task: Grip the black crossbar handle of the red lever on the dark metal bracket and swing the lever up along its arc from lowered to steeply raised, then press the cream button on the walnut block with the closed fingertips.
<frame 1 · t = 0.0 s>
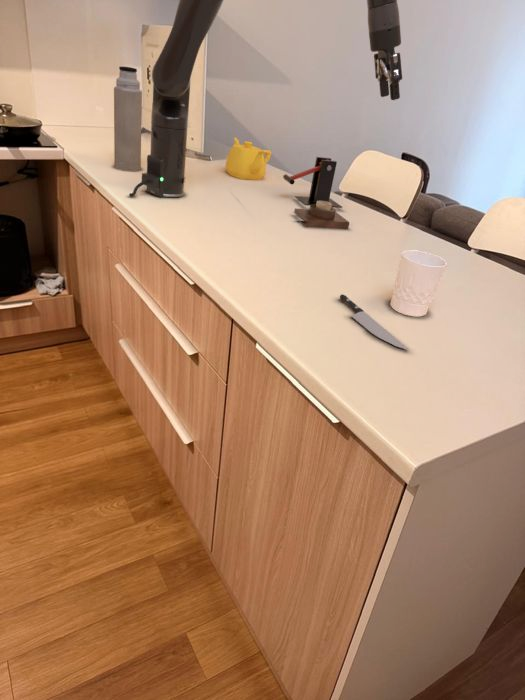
hand: (390, 97, 133), 31 cm above the worktop, tool tilted 20°, fingers open, 8 cm apart
chef's knife: (365, 324, 86), on the worktop
lever: (308, 172, 146), point 9 cm above the worktop, hinge at -24.0°
white cup: (407, 309, 94), on the worktop
bracket: (317, 205, 152), on the worktop
teapot: (248, 176, 175), on the worktop
start button: (323, 205, 134), point 4 cm above the worktop, slide at 0.1 cm
thermos bottle: (127, 168, 159), on the worktop
button block: (320, 222, 136), on the worktop
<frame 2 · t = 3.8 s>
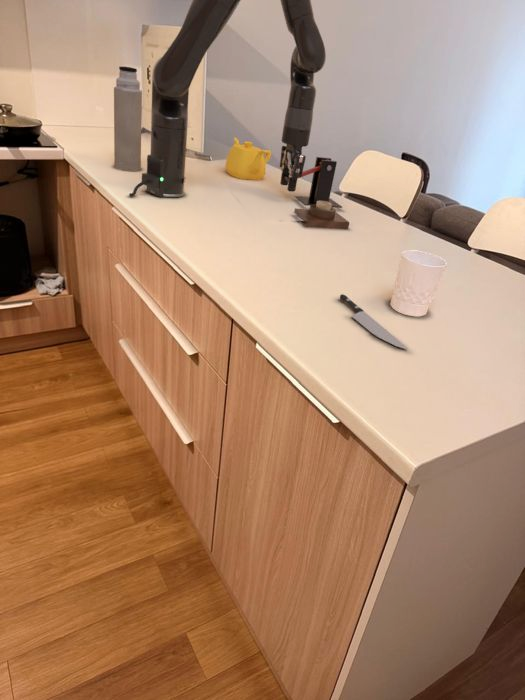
hand: (287, 187, 147), 4 cm above the worktop, tool pointing down, fingers closed on lever, 6 cm apart
lever: (308, 172, 146), point 9 cm above the worktop, hinge at -24.0°, touching gripper
everything else where it was.
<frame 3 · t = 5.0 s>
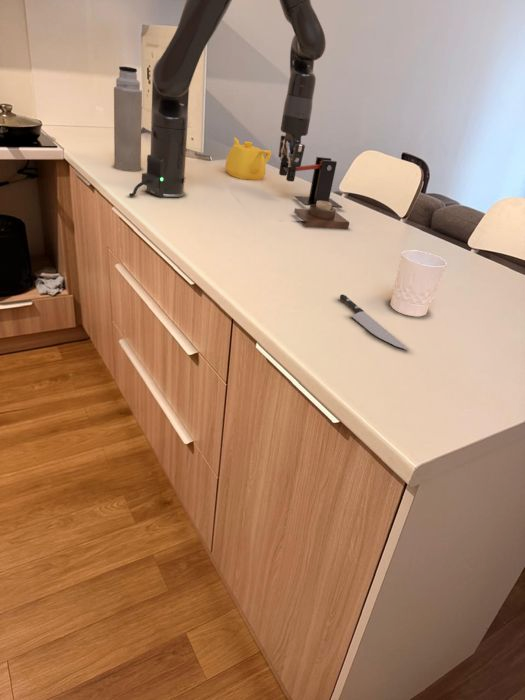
hand: (286, 177, 145), 7 cm above the worktop, tool pointing down, fingers closed on lever, 6 cm apart
lever: (307, 167, 145), point 11 cm above the worktop, hinge at -10.3°, touching gripper
everything else where it was.
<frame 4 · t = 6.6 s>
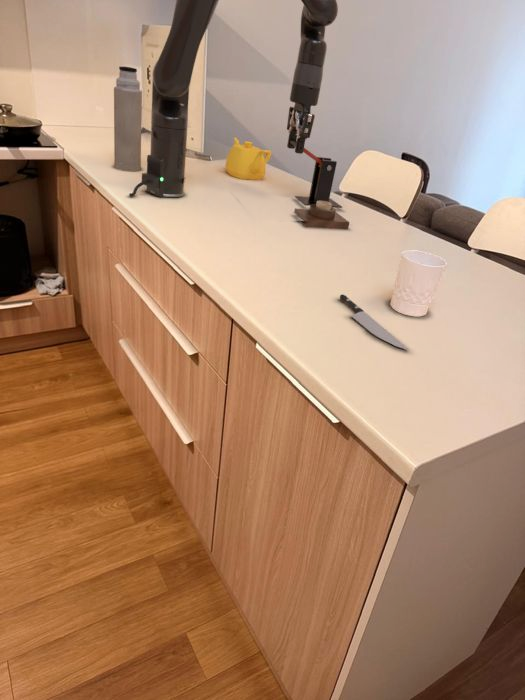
hand: (294, 150, 142), 15 cm above the worktop, tool pointing down, fingers closed on lever, 6 cm apart
lever: (311, 155, 144), point 14 cm above the worktop, hinge at 26.2°, touching gripper
everything else where it was.
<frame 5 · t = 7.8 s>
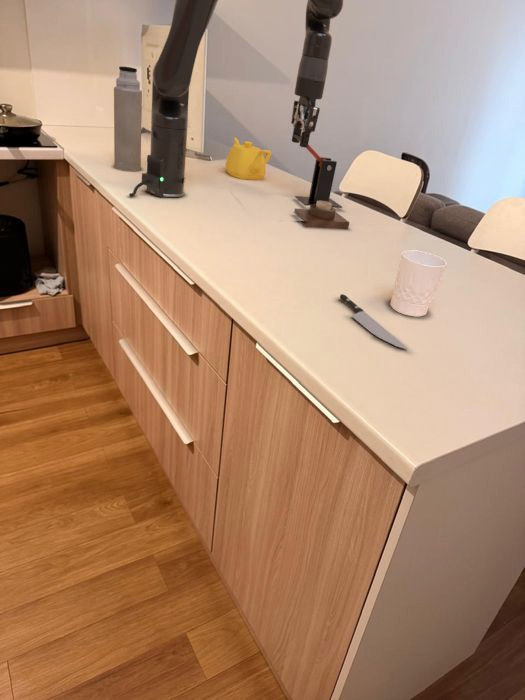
hand: (299, 144, 141), 16 cm above the worktop, tool pointing down, fingers closed on lever, 6 cm apart
lever: (313, 152, 144), point 15 cm above the worktop, hinge at 35.4°, touching gripper
everything else where it was.
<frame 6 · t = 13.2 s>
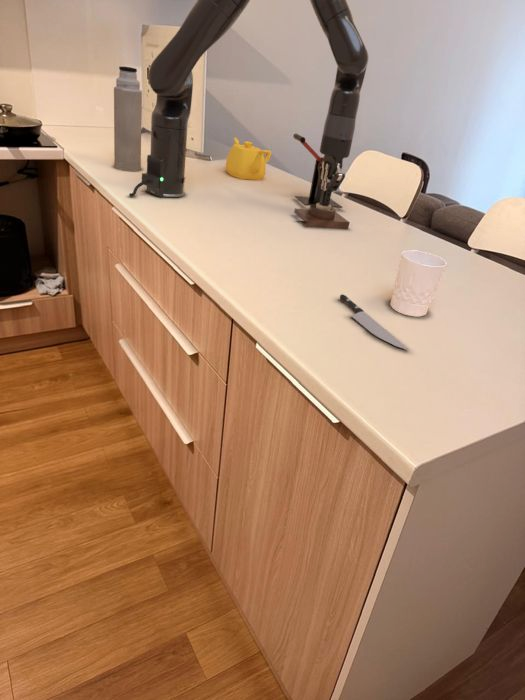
hand: (324, 204, 134), 5 cm above the worktop, tool pointing down, fingers closed
lever: (313, 153, 144), point 15 cm above the worktop, hinge at 35.2°
start button: (323, 208, 134), point 4 cm above the worktop, slide at -0.5 cm, touching gripper
everything else where it was.
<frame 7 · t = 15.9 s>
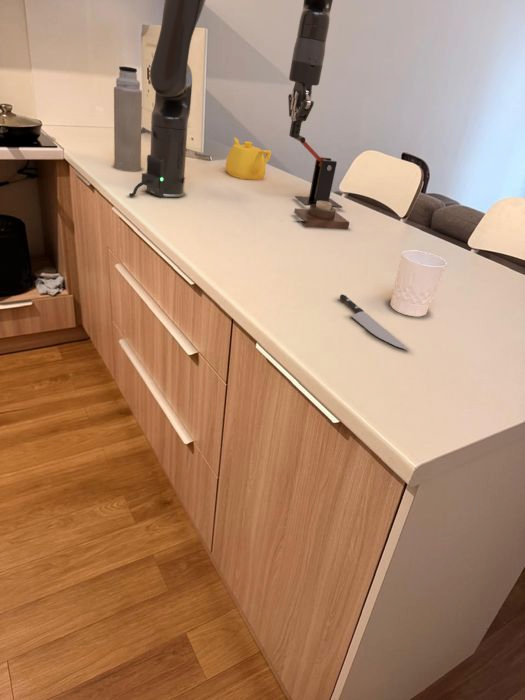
hand: (293, 137, 131), 19 cm above the worktop, tool pointing down, fingers closed
start button: (323, 205, 134), point 4 cm above the worktop, slide at 0.1 cm
everything else where it was.
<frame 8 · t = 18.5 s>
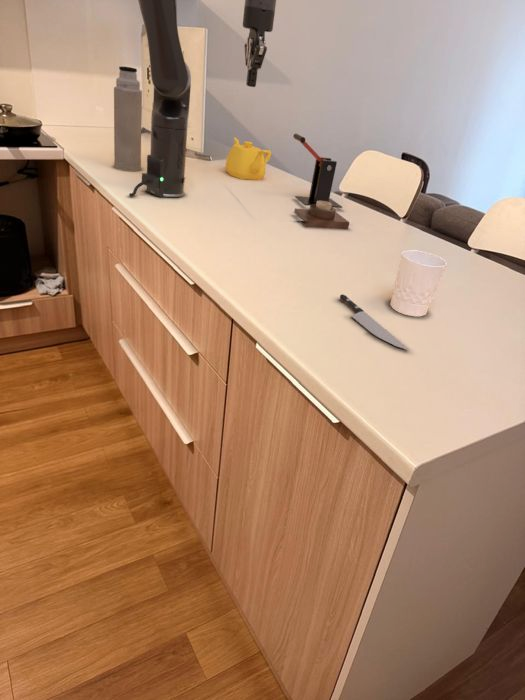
hand: (250, 86, 132), 29 cm above the worktop, tool pointing down, fingers closed
nothing on the worktop moved.
at the end: lever at +35° (first picture: -24°); start button pushed in 1.3 cm at the most during the clip, back to where it started at the end; start button slide at 0.1 cm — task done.
